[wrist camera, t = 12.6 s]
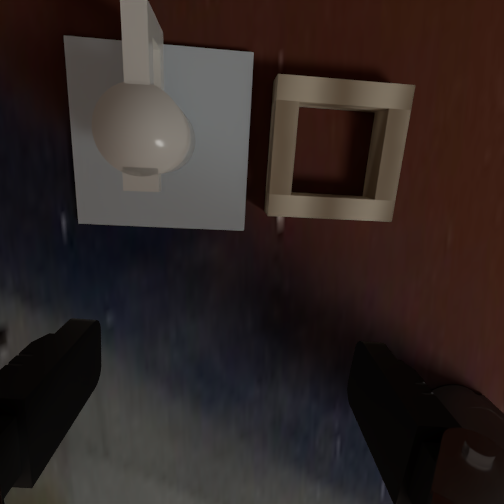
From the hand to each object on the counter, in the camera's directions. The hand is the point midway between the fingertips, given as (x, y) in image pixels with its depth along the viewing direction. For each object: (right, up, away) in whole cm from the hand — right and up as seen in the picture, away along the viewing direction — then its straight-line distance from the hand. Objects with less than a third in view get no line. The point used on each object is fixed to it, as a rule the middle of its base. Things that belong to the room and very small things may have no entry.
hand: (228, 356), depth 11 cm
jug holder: (+8, +13, +23) cm, 27 cm away
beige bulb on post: (-7, +15, +20) cm, 26 cm away
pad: (-8, +14, +21) cm, 26 cm away
